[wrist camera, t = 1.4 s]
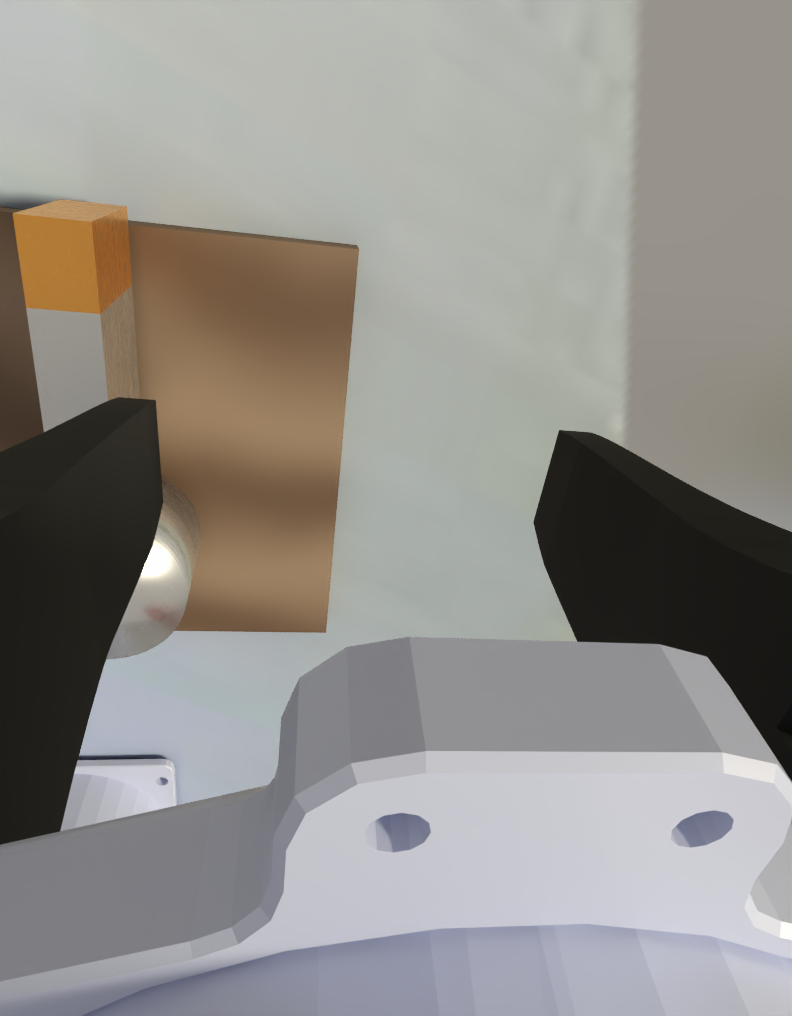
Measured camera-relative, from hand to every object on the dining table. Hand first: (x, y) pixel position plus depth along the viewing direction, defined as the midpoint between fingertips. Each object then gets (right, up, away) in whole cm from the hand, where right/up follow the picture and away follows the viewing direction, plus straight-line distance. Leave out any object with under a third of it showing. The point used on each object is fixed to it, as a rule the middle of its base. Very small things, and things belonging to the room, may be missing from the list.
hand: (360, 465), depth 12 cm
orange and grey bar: (-8, +2, +8) cm, 12 cm away
